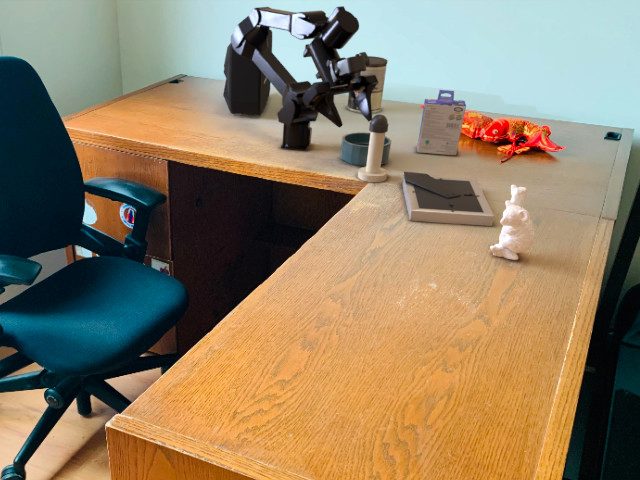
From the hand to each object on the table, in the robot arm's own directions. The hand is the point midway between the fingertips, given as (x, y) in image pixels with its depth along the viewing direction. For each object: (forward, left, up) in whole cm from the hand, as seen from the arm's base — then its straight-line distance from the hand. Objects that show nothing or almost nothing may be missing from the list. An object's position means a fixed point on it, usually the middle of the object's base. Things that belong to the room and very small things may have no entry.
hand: (356, 123), depth 150 cm
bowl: (+2, +8, -10) cm, 13 cm away
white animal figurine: (+32, -38, -11) cm, 51 cm away
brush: (+5, -4, -10) cm, 13 cm away
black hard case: (-38, +48, -11) cm, 62 cm away
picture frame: (+21, -16, -11) cm, 29 cm away
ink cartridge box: (+19, +20, -11) cm, 30 cm away
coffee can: (-3, +56, -11) cm, 57 cm away
